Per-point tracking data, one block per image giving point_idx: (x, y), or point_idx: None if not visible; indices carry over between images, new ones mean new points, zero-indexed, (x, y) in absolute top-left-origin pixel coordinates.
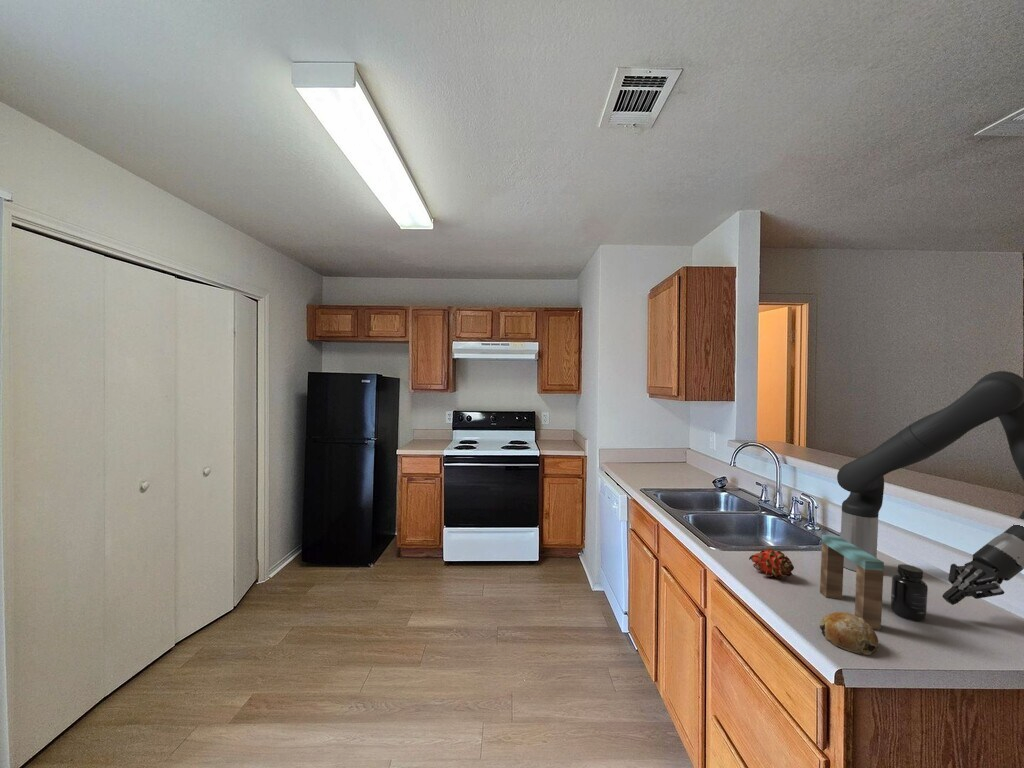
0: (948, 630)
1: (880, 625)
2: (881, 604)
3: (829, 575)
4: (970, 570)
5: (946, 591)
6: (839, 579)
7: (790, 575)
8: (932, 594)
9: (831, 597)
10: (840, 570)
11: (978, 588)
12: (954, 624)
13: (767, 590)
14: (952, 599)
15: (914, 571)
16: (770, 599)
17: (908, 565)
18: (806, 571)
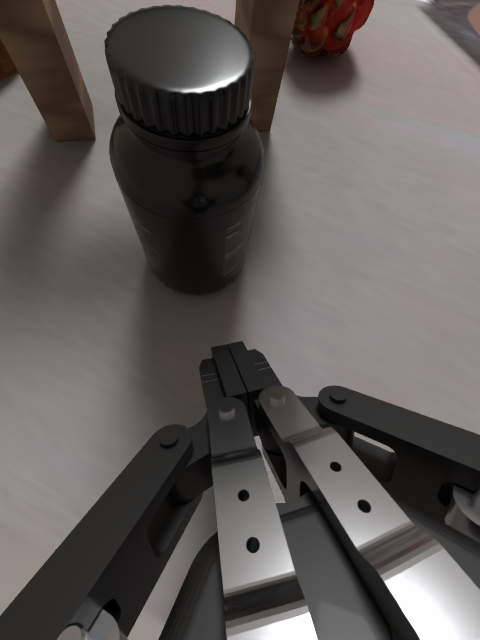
0: (111, 329)
1: (48, 127)
2: (5, 45)
3: (236, 17)
4: (375, 580)
5: (265, 362)
6: None
7: (305, 46)
8: None
9: None
10: (249, 8)
11: (114, 497)
12: (174, 378)
13: (212, 13)
14: (201, 365)
15: (115, 37)
16: (161, 3)
17: (238, 58)
18: (403, 121)
